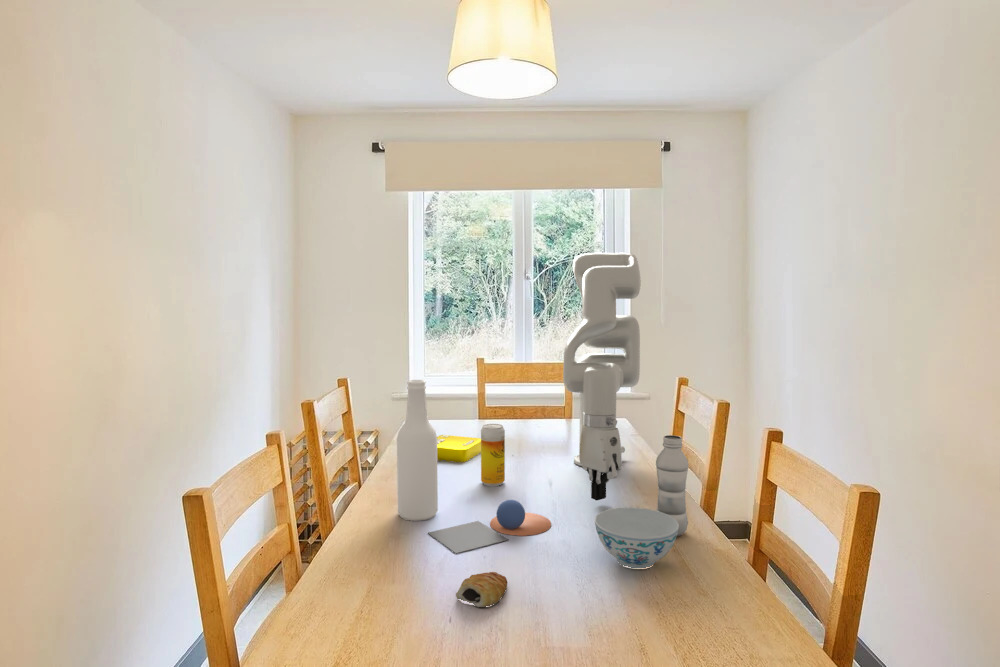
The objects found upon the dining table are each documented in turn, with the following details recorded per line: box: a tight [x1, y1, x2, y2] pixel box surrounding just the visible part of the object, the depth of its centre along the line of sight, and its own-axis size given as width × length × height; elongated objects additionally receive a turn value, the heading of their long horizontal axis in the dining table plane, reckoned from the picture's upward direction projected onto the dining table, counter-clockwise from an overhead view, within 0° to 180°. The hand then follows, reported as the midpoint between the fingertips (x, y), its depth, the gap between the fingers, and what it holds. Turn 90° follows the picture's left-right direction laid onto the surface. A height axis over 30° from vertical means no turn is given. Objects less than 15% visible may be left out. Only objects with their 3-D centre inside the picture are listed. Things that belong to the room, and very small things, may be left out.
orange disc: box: [489, 511, 552, 537], centre depth 135 cm, size 13×13×1 cm
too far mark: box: [427, 520, 510, 555], centre depth 128 cm, size 12×12×1 cm
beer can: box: [480, 423, 506, 487], centre depth 163 cm, size 6×6×15 cm
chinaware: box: [594, 506, 679, 568], centre depth 116 cm, size 15×15×8 cm
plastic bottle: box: [655, 434, 689, 537], centre depth 129 cm, size 6×7×20 cm
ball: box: [496, 499, 526, 529], centre depth 133 cm, size 6×6×6 cm
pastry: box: [455, 571, 508, 608], centre depth 104 cm, size 9×7×4 cm
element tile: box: [437, 434, 481, 463], centre depth 192 cm, size 15×15×5 cm
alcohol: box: [396, 379, 439, 522], centre depth 140 cm, size 9×9×30 cm
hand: (598, 498), depth 147 cm, fingers closed
